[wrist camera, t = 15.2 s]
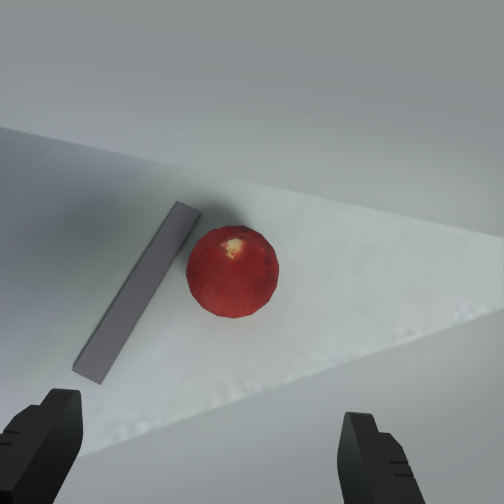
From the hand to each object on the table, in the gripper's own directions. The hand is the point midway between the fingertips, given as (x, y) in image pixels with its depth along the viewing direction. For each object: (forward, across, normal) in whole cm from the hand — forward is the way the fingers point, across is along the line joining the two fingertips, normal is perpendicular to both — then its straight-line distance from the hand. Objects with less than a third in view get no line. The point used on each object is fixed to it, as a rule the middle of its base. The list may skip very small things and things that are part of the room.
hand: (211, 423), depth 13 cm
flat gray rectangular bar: (+17, +6, +4) cm, 19 cm away
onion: (+18, 0, +4) cm, 18 cm away
